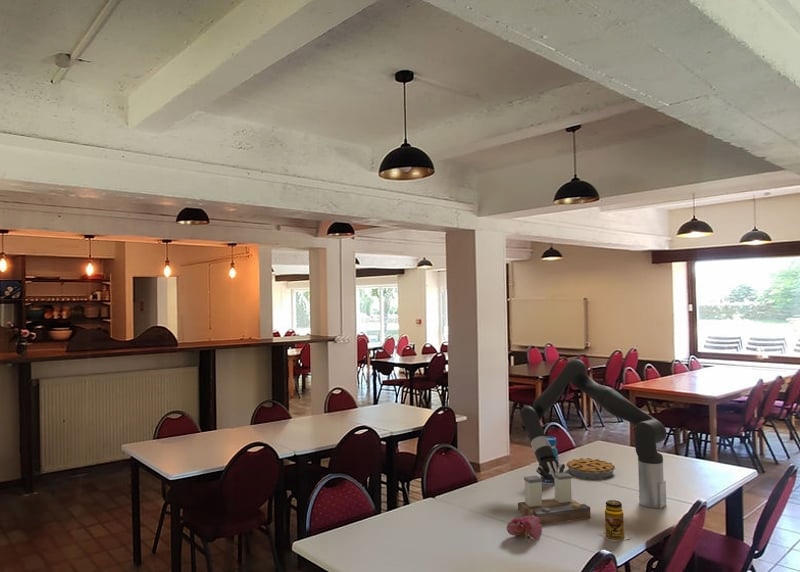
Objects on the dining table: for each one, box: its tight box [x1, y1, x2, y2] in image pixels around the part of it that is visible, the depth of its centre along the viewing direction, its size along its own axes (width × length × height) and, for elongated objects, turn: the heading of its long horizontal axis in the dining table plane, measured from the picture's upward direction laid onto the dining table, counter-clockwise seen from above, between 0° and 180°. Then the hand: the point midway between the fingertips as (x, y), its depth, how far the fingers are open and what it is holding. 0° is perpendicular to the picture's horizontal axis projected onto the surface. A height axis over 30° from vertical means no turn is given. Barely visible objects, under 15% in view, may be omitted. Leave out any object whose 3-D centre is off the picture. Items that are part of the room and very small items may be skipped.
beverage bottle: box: [540, 436, 560, 486], centre depth 262 cm, size 8×8×20 cm
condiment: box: [597, 499, 631, 543], centre depth 201 cm, size 7×8×12 cm
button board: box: [517, 497, 591, 526], centre depth 223 cm, size 16×22×5 cm
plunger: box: [523, 475, 543, 507], centre depth 224 cm, size 4×5×10 cm
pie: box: [565, 457, 616, 480], centre depth 275 cm, size 22×22×5 cm
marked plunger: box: [554, 471, 573, 503], centre depth 228 cm, size 4×5×10 cm
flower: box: [506, 515, 543, 545], centre depth 200 cm, size 11×10×10 cm
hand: (559, 488), depth 231 cm, fingers closed
